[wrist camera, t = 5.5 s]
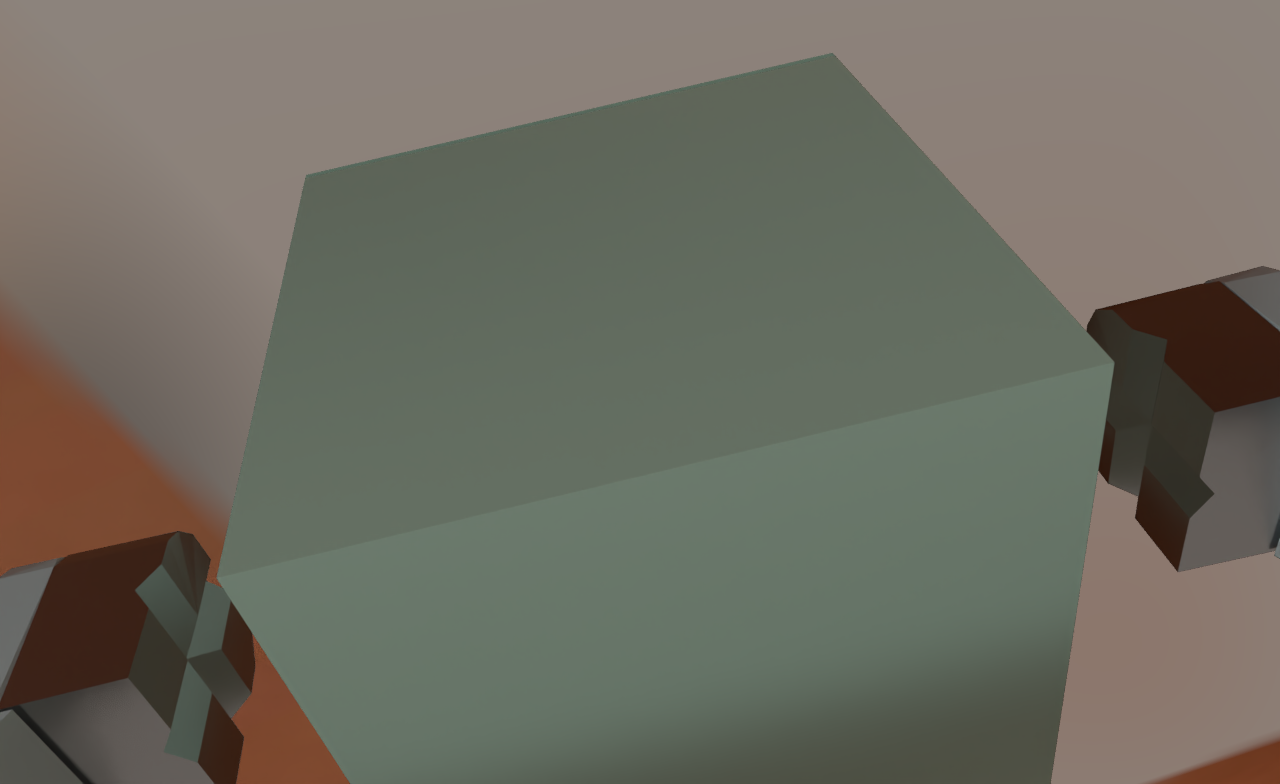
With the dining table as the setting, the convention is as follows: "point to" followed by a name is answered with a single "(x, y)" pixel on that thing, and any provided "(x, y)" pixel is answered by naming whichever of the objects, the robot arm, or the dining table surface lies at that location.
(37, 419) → the dining table surface
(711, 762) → the green cube
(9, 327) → the dining table surface
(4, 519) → the dining table surface
